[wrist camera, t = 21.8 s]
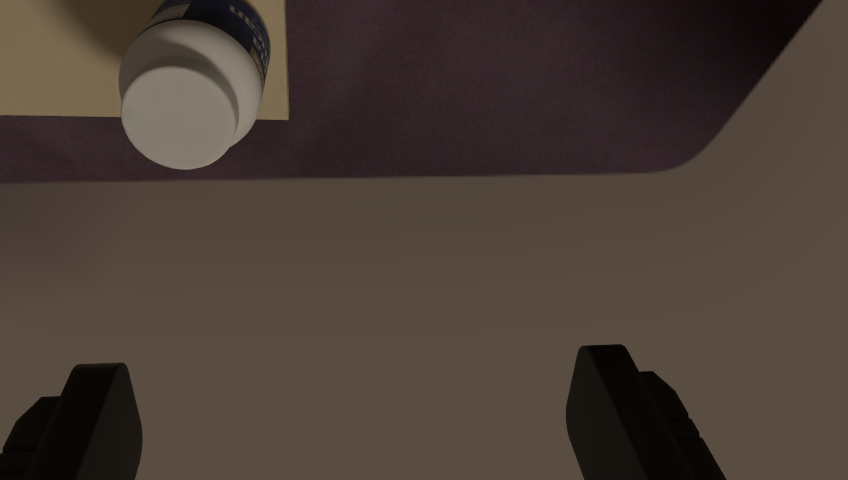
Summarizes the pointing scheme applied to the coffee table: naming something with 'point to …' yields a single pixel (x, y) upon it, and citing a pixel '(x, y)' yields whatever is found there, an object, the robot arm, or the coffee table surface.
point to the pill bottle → (194, 80)
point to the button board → (99, 55)
